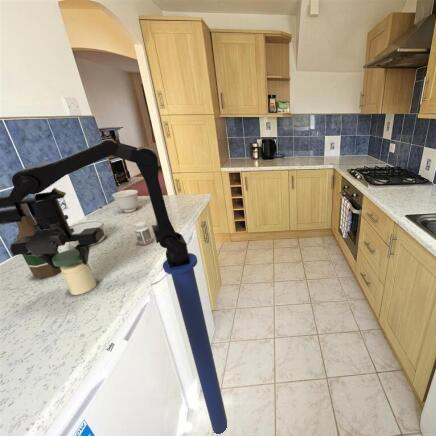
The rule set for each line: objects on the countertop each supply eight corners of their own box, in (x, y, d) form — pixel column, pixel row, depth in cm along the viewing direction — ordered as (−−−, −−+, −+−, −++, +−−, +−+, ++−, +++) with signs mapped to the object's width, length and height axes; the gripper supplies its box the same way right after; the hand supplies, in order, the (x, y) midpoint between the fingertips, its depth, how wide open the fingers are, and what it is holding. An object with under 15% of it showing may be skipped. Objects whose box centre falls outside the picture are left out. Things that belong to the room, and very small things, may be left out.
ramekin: (111, 240, 101) (106, 225, 98) (71, 253, 92) (63, 237, 89) (104, 231, 109) (99, 217, 106) (66, 242, 100) (59, 227, 98)
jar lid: (47, 268, 65) (44, 262, 65) (63, 255, 72) (61, 250, 71) (76, 265, 67) (74, 259, 66) (90, 252, 73) (88, 247, 72)
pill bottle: (152, 238, 102) (147, 220, 98) (151, 243, 98) (146, 224, 94) (139, 240, 100) (133, 222, 96) (138, 245, 96) (132, 226, 93)
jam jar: (99, 279, 77) (89, 256, 73) (93, 291, 71) (82, 267, 68) (74, 284, 74) (63, 261, 71) (67, 297, 69) (55, 272, 66)
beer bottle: (38, 282, 76) (0, 210, 66) (31, 274, 80) (-7, 206, 70) (69, 269, 82) (38, 202, 72) (60, 262, 86) (30, 198, 76)
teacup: (138, 203, 143) (134, 187, 139) (145, 210, 133) (140, 192, 129) (114, 209, 136) (108, 192, 132) (119, 216, 125) (113, 198, 121)
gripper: (-24, 235, 54) (10, 291, 60) (77, 223, 59) (98, 275, 65) (12, 217, 63) (38, 266, 70) (95, 207, 69) (113, 255, 75)
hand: (72, 266), depth 69 cm, fingers closed on jar lid, 6 cm apart
